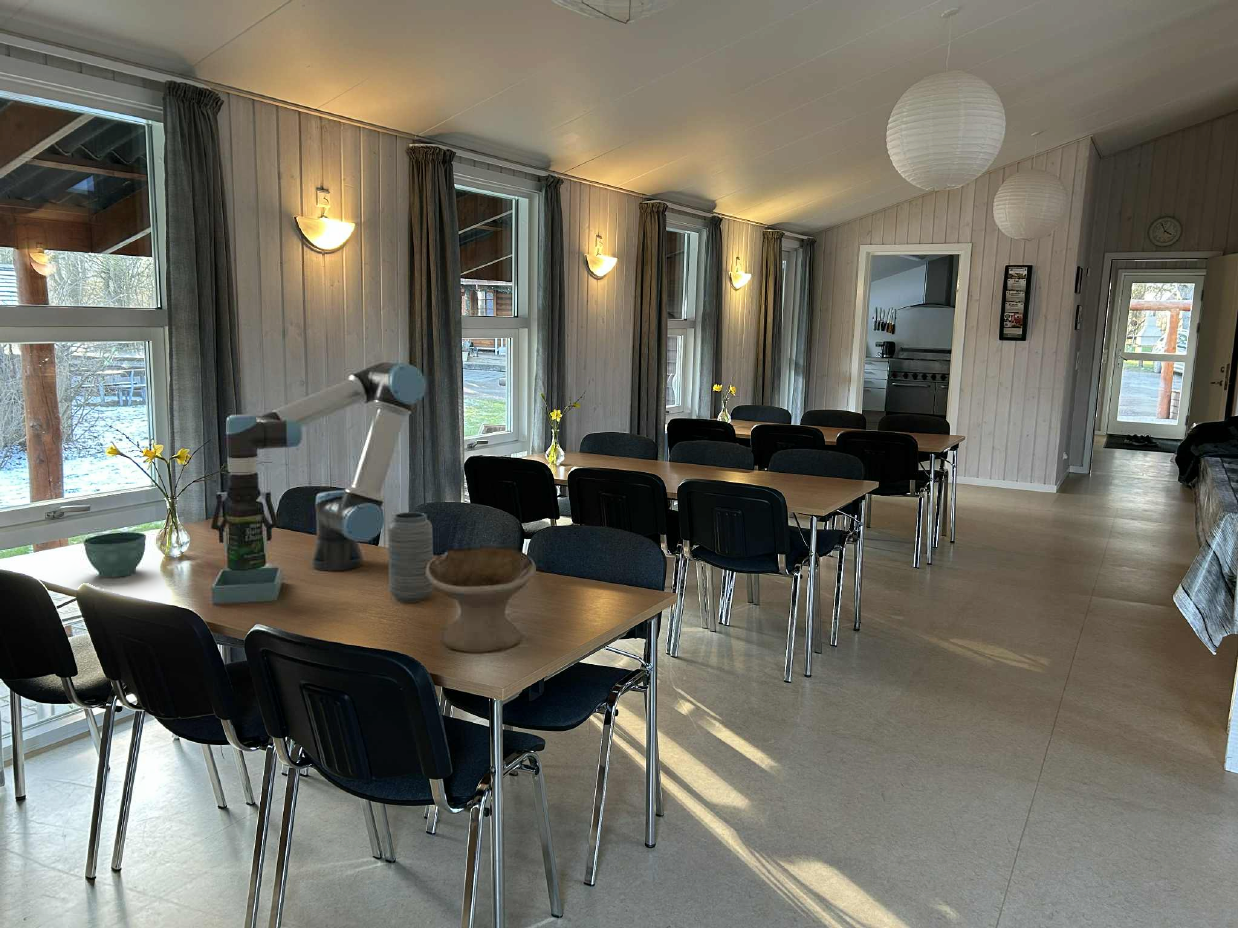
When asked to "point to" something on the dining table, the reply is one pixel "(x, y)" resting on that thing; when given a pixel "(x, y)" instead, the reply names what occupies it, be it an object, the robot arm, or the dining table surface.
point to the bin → (247, 585)
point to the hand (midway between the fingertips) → (246, 553)
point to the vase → (409, 556)
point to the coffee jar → (245, 536)
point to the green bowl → (115, 553)
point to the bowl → (481, 594)
